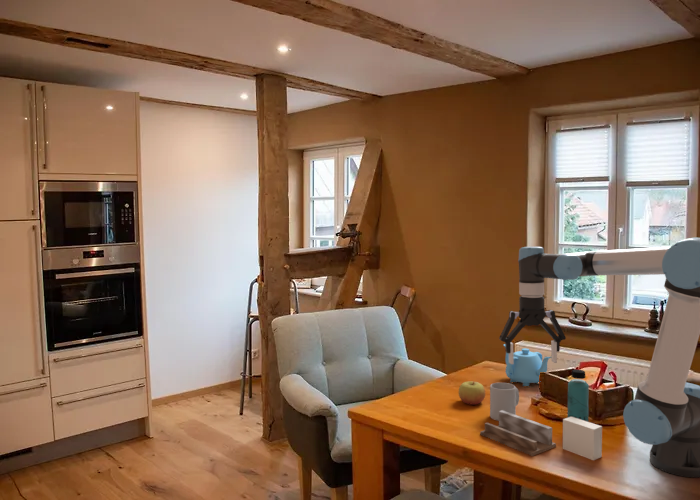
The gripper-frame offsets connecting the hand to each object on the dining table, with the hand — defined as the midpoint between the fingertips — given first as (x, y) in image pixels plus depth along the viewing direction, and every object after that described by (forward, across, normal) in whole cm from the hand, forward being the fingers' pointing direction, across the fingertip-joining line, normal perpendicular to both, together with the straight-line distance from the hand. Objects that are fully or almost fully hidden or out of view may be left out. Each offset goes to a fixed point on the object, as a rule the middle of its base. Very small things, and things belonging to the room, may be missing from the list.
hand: (532, 362), depth 180 cm
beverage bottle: (+23, -14, -1) cm, 27 cm away
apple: (+22, +13, -31) cm, 40 cm away
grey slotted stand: (+23, +7, +5) cm, 24 cm away
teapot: (+22, -14, -54) cm, 60 cm away
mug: (+23, +4, -16) cm, 28 cm away
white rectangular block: (+23, -9, +14) cm, 29 cm away
